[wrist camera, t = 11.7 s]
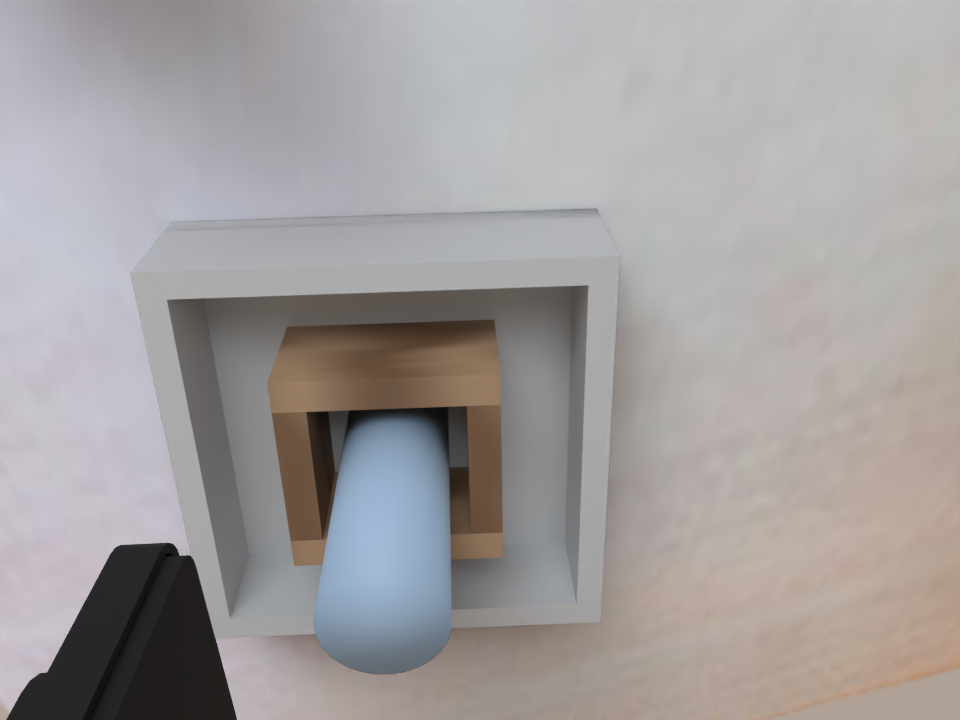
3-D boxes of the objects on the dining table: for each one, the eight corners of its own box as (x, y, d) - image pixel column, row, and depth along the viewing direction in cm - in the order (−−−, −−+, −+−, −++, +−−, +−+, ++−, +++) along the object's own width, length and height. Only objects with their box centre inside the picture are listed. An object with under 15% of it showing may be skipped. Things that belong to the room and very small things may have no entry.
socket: (494, 319, 35) (500, 374, 31) (497, 488, 39) (503, 557, 35) (287, 326, 35) (267, 383, 31) (309, 496, 39) (294, 565, 35)
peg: (446, 366, 36) (449, 567, 25) (450, 451, 38) (454, 671, 27) (345, 370, 36) (306, 573, 25) (354, 454, 38) (320, 677, 27)
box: (597, 208, 34) (619, 256, 30) (583, 544, 42) (600, 622, 37) (171, 222, 34) (130, 272, 29) (234, 558, 41) (209, 638, 37)
